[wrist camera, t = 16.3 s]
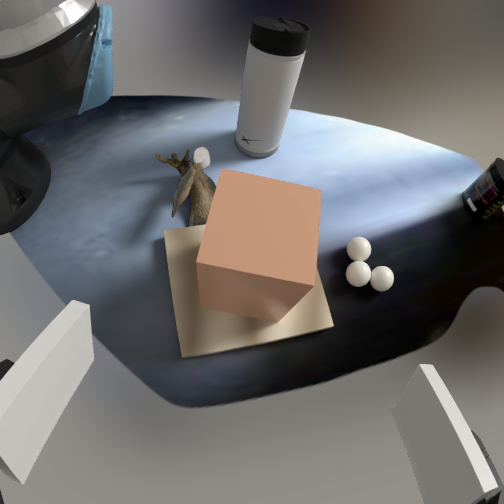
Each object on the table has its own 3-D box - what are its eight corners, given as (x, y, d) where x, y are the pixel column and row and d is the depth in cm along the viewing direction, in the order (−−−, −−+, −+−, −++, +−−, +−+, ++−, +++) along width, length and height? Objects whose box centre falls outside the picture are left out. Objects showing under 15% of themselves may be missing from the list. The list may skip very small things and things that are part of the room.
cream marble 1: (347, 267, 37) (357, 257, 34) (339, 245, 38) (349, 234, 35) (367, 263, 37) (378, 253, 35) (360, 242, 39) (370, 231, 36)
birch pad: (183, 358, 30) (182, 357, 29) (165, 236, 36) (164, 230, 34) (328, 328, 33) (333, 325, 32) (296, 218, 39) (299, 212, 37)
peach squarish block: (278, 322, 32) (314, 285, 21) (200, 307, 31) (196, 261, 20) (287, 252, 35) (321, 190, 24) (216, 237, 35) (221, 168, 24)
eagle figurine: (142, 180, 37) (159, 231, 33) (165, 133, 33) (187, 180, 29) (192, 188, 42) (215, 236, 38) (218, 147, 38) (247, 192, 34)
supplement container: (490, 216, 45) (524, 186, 36) (476, 228, 43) (514, 197, 34) (470, 187, 48) (502, 154, 38) (455, 196, 45) (490, 161, 36)
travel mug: (243, 163, 41) (266, 31, 23) (230, 131, 44) (245, 8, 26) (285, 157, 43) (325, 34, 25) (269, 126, 45) (297, 10, 27)
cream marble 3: (369, 296, 36) (381, 288, 33) (362, 273, 37) (373, 264, 34) (389, 291, 36) (401, 283, 34) (381, 269, 37) (393, 260, 35)
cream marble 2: (346, 292, 36) (356, 283, 33) (338, 268, 37) (348, 259, 34) (367, 287, 36) (378, 279, 33) (359, 264, 37) (370, 254, 35)
